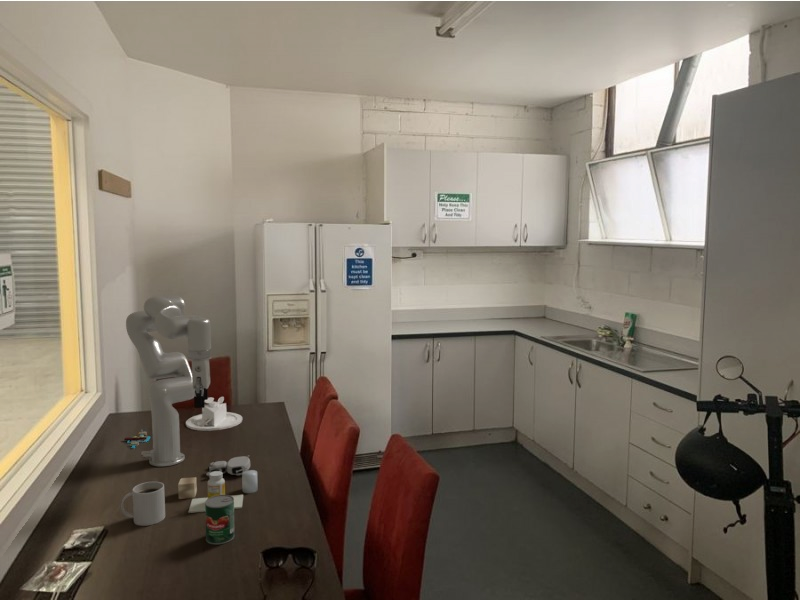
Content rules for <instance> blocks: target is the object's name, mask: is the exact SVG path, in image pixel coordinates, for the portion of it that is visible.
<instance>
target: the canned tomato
mask: <svg viewBox="0 0 800 600" xmlns="http://www.w3.org/2000/svg"><path fill="white" fill-rule="evenodd" d="M232 496H233V495H230V494H225V495H216V496H213V497H210V498H208V497H207V498H208V499H207V500H206V501H205V516H204V519H205V541H206V542H207V543H208V544H209V545H224V544H226V543H229V542H230V541H232V540H234V538H235V531H236V530H235V509H234V498H233V497H232Z"/></svg>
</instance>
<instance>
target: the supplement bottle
mask: <svg viewBox="0 0 800 600" xmlns="http://www.w3.org/2000/svg"><path fill="white" fill-rule="evenodd" d="M208 478H209V479H207V480H208V481H207V485H206V486H207V498H210V497H213V496H216V495H226V481H225V478H223V473H222V472H221V471H214V472H211V473H210V475H209V476H208Z"/></svg>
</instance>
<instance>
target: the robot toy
mask: <svg viewBox="0 0 800 600" xmlns="http://www.w3.org/2000/svg"><path fill="white" fill-rule="evenodd" d="M249 457H250V455H246V456H245V455H244V456H243V455H242V456H235V457H232V458H230V459H229V460H228V461H226V460H218V461H217V460H215V461H213V462H209V466H208V467H207V471H208V472H206V474H205V475H206V476H207V477H209V475H210V473H211V472H214V471H221V472H222V473H223V474H226V473H227V474H229V475H233V476H234V475H235V476H242V473H243V472H244V471H248V470H249V469H250V468H251V466H252V465H251V459H250V458H249Z"/></svg>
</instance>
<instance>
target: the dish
mask: <svg viewBox="0 0 800 600" xmlns="http://www.w3.org/2000/svg"><path fill="white" fill-rule="evenodd" d="M214 400H215V398H214V397H209V396H208V399H207V400H204V403H205V407H204V408H201V413H200V414H197V415H193V416H192V417H190V418H188V419H186V421H185V426H186V427H187V428H188V429H190V430H195V431H201V432H203V431H205V432H207V431H208V432H211V431H221V430H225V429H230V428H234V427H236V426H238V425H239V424H241V423H242V422H243V416H242V415H241V414H238V413H236V412H230V411H227V402H224V400H225V397H224V396H220V397H219V398H218V400H217V401H214ZM223 402H224V403H223Z"/></svg>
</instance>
